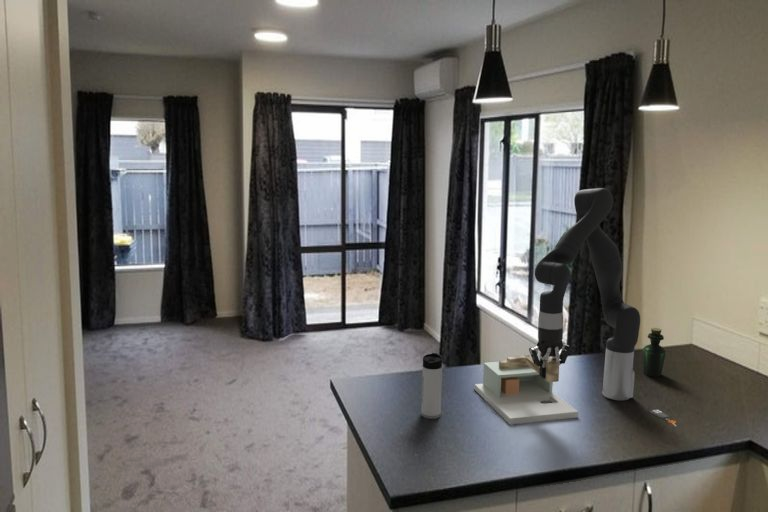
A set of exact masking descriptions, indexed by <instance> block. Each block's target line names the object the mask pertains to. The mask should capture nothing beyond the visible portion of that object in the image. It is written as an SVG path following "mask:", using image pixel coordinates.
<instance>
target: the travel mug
mask: <svg viewBox="0 0 768 512" xmlns="http://www.w3.org/2000/svg"><path fill="white" fill-rule="evenodd" d="M421 372H422V373H421V376H422V377H421V379H422V381H421V416H422V417H423V418H425V419H430V420H436V419H439V418H440V417H441V416H442V414H441V413H442V412H441V410H442V387H443V386H442V383H443V357H442V356H441V355H440V354H438V352H432V353H428V354H425V355H424V356H423V357H422V371H421Z"/></svg>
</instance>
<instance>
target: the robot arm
mask: <svg viewBox="0 0 768 512" xmlns="http://www.w3.org/2000/svg"><path fill="white" fill-rule="evenodd" d="M573 199H574V201H573V203H574V208H575V213H576V216H577V218H578V221H577V222H576V223H574V224H572V226H570V227H569V228H568V229H566V230H565V232H564V233H563V234H562V235H561V236H560V238H559V240H558V241H557V243H556V244H555V245H554V247H553V249H552V250H551V251H549V252H548V253H547V254H546V255H545V256H544V257H542V259H541V260H539V261H538V263H537V264H536V267H535V268H534V278H535V279H536V281H537V282H538V283H540V284H544V285H551V286H553V288H552V290H546V291H542V292H541V294H540V296H539V313H538V322H537V323H538V325H537V326H538V329H537V344H536V346H534V347H529V348H528V352H529V355H530V356H531V357H532V360H533V362H534V364H536V365H537V366H538V367H540V369H539V375H540V376H541V377H542V378H543V379H545V378H546V362H547V361H548V359H549V357H551V358H552V359H554V360H555V361H557V362H558V363H559V367H560V366H561V365H562V364H566V361H567V359H568V356H569V354H570V352H571V349H572V347H571V346H570V345H568V344H566V343H563V339H564V298H565V294H566V291H567V288H568V285H569V283H570V282H569V281H570V279H571V271H570V268H569V266H568V265H570V264H571V263H574V260H575V258H576V257H577V255H578V254H579V252H580V250H581V249H582V248H583V245H584V244H585V242H586V244H587V247H588V251H589V255H590V256H589V257H590V260H591V264H592V267H593V271H594V273H595V279H596V281H597V282H596V283H597V286H598V290H599V294H600V299H601V307H602V313H603V318H604V321H605V322H606V324H607V325H609V326H610V327H611V328H613V329H615V330H614V335H613V337H610V338H608V339H607V340H606V343H605V355H604V357H605V358H604V368H603V380H602V381H603V382H602V392H601V393H602V396H604V397H605V398H607V399H610V400H614V401H627V400H630V399H633V396H634V387H635V374H636V372H635V371H634V369H633V368H634V357H635V347H636V345H637V343H638V342H639V341H638V339H639V335H640V328H641V326H640V325H641V314H640V311H639V310H638V309H637V308H636V307H633V306H632V305H630V304H627V303H625V302H624V300H623V297H622V293H621V290H620V282H621V279H622V274H623V267H624V266H623V263H622V258H621V255H620V254H621V253H620V251H619V248H618V246H617V245H616V244H615V242H614V241H613V240H612V239H611V238H610V237H609V236H608V235H607V234H606V233H605V232H604V231H603V229H602V227H601V226H600V224H601V223H602V222H603V221H604V220H605V218H607V216H608V215H609V214H610V213H611V211H612V209H613V205H614V197H613V194H612V192H611V191H610V190H609V189H607V188H604V187H597V188H596V187H595V188H587V189H581V190H578V191H577V192H576V193H575V195H574V198H573Z"/></svg>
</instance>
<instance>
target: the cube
mask: <svg viewBox="0 0 768 512" xmlns="http://www.w3.org/2000/svg"><path fill="white" fill-rule="evenodd" d="M501 391H503V392H504V393H505V394H512V393H519V378H517V377H506V378H501Z"/></svg>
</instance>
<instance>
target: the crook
mask: <svg viewBox="0 0 768 512" xmlns="http://www.w3.org/2000/svg"><path fill="white" fill-rule="evenodd" d="M506 360H507V364H508V365H509V366H510V365H519V364H527V365H528V366H530V367H531V368H532V369H534V370H535V371H536V372H538V373H539V369H540V367H538V366H537V365H536V364H534V362H533V360H532V357H531V355H530V354H527V355H525V354H524V355H516V356H507V357H506ZM559 375H560V366H559V363H558V362H557V361H555V360H554V359H552V357H551V356H550V357H549V359H548V361H547V362H546V378H545V380H546V381H547V382H553V383H556V382H559V378H560V377H559ZM539 376H540V375H539Z"/></svg>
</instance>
